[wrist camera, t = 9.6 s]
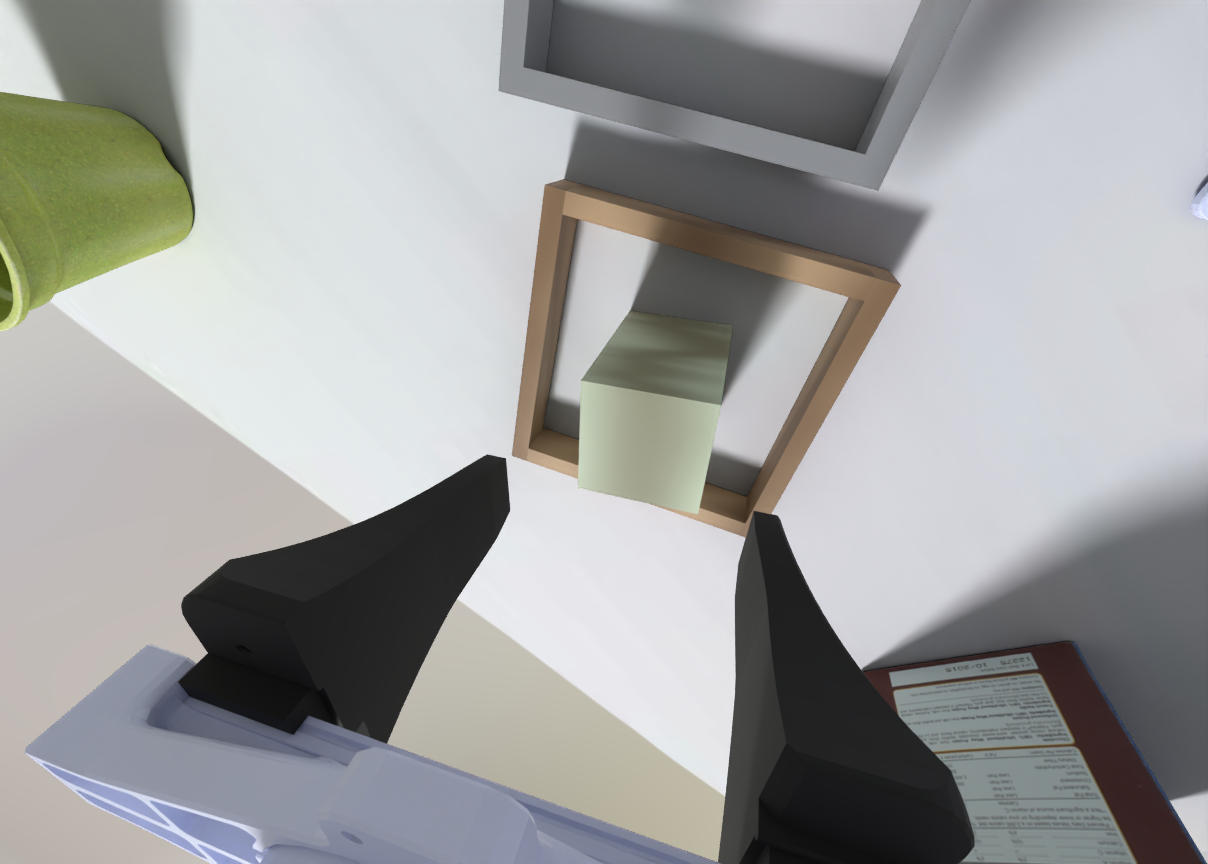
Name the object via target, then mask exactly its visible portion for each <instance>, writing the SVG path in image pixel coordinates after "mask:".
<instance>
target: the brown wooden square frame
mask: <svg viewBox="0 0 1208 864" xmlns="http://www.w3.org/2000/svg"><path fill="white" fill-rule="evenodd" d="M577 219H580V220H584V221H587V222H590V223H594V224H597V225H601V226H604V227H608V228H611V229H615V230H618V231H622V232H625V233H629V234H632V235H636V236H639V237H643V238H646V239H649V240H653V241H656V242H660V243H663V244H667V245H670V246H674V247H677V248H681V249H684V250H688V251H691V252H695V253H698V254H702V255H705V256H708V257H712V258H715V259H719V260H722V261H726V262H729V263H733V264H736V265H740V266H743V267H747V268H750V269H754V270H757V271H761V272H764V273H768V274H771V275H774V276H778V277H781V278H785V279H788V280H792V281H795V282H799V283H802V284H806V285H809V286H813V287H816V288H820V289H823V290H827V291H830V292H833V293H837V294H840V295H844V296H847V297H849V299H848V301H847V303H846V305H845V307H844V309H843V311H842V313H841V315H840V317H839V318H838V320H837V322H836V324H835V326H834V328H833V330H832V332H831V334H830V336H829V338H828V340H827V342H826V344H825V346H824V348H823V350H822V352H821V354H820V355H819V357H818V359H817V361H816V363H815V365H814V367H813V369H812V371H811V373H810V375H809V377H808V379H807V381H806V383H805V385H804V387H803V389H802V391H801V392H800V394H799V396H798V398H797V400H796V402H795V404H794V406H793V408H792V410H791V412H790V414H789V416H788V418H787V420H786V422H785V424H784V426H783V428H782V429H781V431H780V433H779V435H778V437H777V439H776V441H775V443H774V445H773V447H772V449H771V451H770V453H769V455H768V457H767V459H766V461H765V463H764V464H763V466H762V468H761V470H760V472H759V474H758V476H757V478H756V480H755V482H754V484H753V486H752V488H751V490H750V492H749V494H748V496H747V497H745V496H743V495H740V494H737V493H734V492H731V491H728V490H725V489H722V488H719V487H716V486H713V485H710V484H707V483H705V484H704V488H703V493H702V498H701V502H700V507H699V512H698V514H694V513H689V512H685V511H680V510H676V509H671V508H667V507H662V506H658V505H655V506H657V507H660V508H663V509H666V510H669V511H672V512H675V513H677V514H680V515H683V516H686V517H689V518H692V519H695V520H697V521H700V522H703V523H706V524H709V525H712V526H715V527H717V528H720V529H723V530H726V531H729V532H732V533H735V534H737V535H740V536H743V537H746V536H747V532H748V529H749V525H750V522H751V518H752V514H753V511H758V512H762V513H767V514H771V513H772V511H773V510H774V508H775V506H776V504H777V503H778V501H779V499H780V497H781V496H782V494H783V492H784V490H785V488H786V487H787V485H788V483H789V481H790V480H791V478H792V476H793V474H794V473H795V471H796V469H797V467H798V466H799V464H800V462H801V460H802V459H803V457H804V455H805V453H806V452H807V450H808V448H809V446H810V445H811V443H812V441H813V439H814V438H815V436H816V434H817V432H818V430H819V429H820V427H821V425H822V423H823V422H824V420H825V418H826V416H827V415H828V413H829V411H830V409H831V408H832V406H833V404H834V402H835V401H836V399H837V397H838V395H839V394H840V392H841V390H842V388H843V387H844V385H845V383H846V381H847V380H848V378H849V376H850V374H851V372H852V371H853V369H854V367H855V365H856V364H857V362H858V360H859V358H860V357H861V355H862V353H863V351H864V350H865V348H866V346H867V344H868V343H869V341H870V339H871V337H872V336H873V334H874V332H875V330H876V329H877V327H878V325H879V323H880V322H881V320H882V318H883V316H884V314H885V313H886V311H887V309H888V307H889V306H890V304H891V302H892V300H893V299H894V297H895V295H896V293H897V292H898V290H899V288H900V286H901V285H900V283H899V282H898V281H897V280H896V279H895V277H894V276H893V275H892V274H891V273H890V271H889V270H886V269H883V268H879V267H875V266H872V265H868V264H865V263H861V262H858V261H854V260H850V259H847V258H843V257H840V256H836V255H833V254H829V253H825V252H822V251H818V250H815V249H811V248H807V247H804V246H800V245H797V244H793V243H790V242H786V241H782V240H779V239H775V238H772V237H768V236H765V235H761V234H757V233H754V232H750V231H747V230H743V229H740V228H736V227H732V226H729V225H725V224H722V223H718V222H715V221H711V220H707V219H704V218H700V217H697V216H693V215H689V214H686V213H682V212H679V211H675V210H672V209H668V208H664V207H661V206H657V205H654V204H650V203H647V202H643V201H639V200H636V199H632V198H629V197H625V196H622V195H618V194H614V193H611V192H607V191H604V190H600V189H597V188H593V187H589V186H586V185H582V184H579V183H575V182H571V181H568V180H564V179H563V180H560V181H556V182H553V183H549V184H546V185H545V188H544V196H543V205H542V213H541V221H540V229H539V237H538V246H537V254H536V262H535V270H534V279H533V287H532V295H531V303H530V311H529V320H528V328H527V336H526V344H525V353H524V361H523V369H522V377H521V385H520V394H519V402H518V410H517V418H516V426H515V435H514V443H513V451H512V456H514V457H517V458H520V459H523V460H526V461H529V462H532V463H534V464H537V465H540V466H543V467H546V468H549V469H552V470H554V471H557V472H560V473H563V474H566V475H569V476H572V477H574V478H577V479H578V465H579V440H578V439H575V438H572V437H569V436H566V435H563V434H560V433H557V432H554V431H552V430H549V429H546V428H543V427H544V421H545V415H546V408H547V402H548V396H549V390H550V384H551V378H552V372H553V365H554V359H555V353H556V347H557V341H558V335H559V329H560V322H561V316H562V310H563V304H564V298H565V292H566V286H567V279H568V273H569V267H570V261H571V255H572V249H573V243H574V236H575V230H576V224H577ZM652 505H653V504H652Z"/></svg>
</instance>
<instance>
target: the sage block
mask: <svg viewBox="0 0 1208 864" xmlns="http://www.w3.org/2000/svg"><path fill="white" fill-rule="evenodd" d="M732 331H733V326H732V325H725V324H719V323H712V322H705V321H698V320H691V319H684V318H677V317H670V316H663V315H656V314H649V313H642V312H636V311H630V312H629V313H628V315H627V316H626V317H625V319H624V320H623V322H622V323H621V324H620V326H619V327H618V329H617V330H616V332H615V333H614V334H613V336H612V337H611V339H610V340H609V342H608V343H607V344H606V346H605V347H604V349H603V350H602V351H601V353H600V354H599V356H598V357H597V359H596V360H595V361H594V363H593V364H592V366H591V367H590V368H589V370H588V371H587V373H586V374H585V376H584V377H583V378H582V380H581V397H580V431H579V465H578V488H581V489H586V490H590V491H595V492H599V493H604V494H608V495H613V496H617V497H622V498H626V499H631V500H635V501H640V502H644V503H649V504H653V505H658V506H662V507H667V508H671V509H676V510H680V511H685V512H689V513H694V514H698V512H699V507H700V502H701V498H702V493H703V488H704V484H705V479H706V474H707V470H708V465H709V460H710V455H711V451H712V446H713V441H714V437H715V432H716V427H717V423H718V418H719V413H720V408H721V403H722V396H723V390H724V383H725V377H726V370H727V364H728V357H729V350H730V344H731V337H732Z"/></svg>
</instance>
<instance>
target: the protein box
mask: <svg viewBox="0 0 1208 864" xmlns="http://www.w3.org/2000/svg"><path fill="white" fill-rule="evenodd" d="M863 673H864V674H865V676H866V677H867V678H868V679H869V681H870V682H871V683H872V684H873V686H874V687H875V688H876V689H877V691H878V692H879V693H880V695H881V696H882V697H883V698H884V700H885V701H886V702H887V703H888V704H889V705H890V707H891V708H892V709H893V710H894V711H895V712H896V713H897V714H898V716H899V717H900V718H901V719H902V720H903V721H904V722H905V724H906V725H907V726H908V727H909V728H910V729H911V730H912V731H913V732H914V733H915V734H916V735H917V736H918V737H919V738H920V739H921V740H922V741H923V742H924V743H925V744H926V745H927V746H928V747H929V748H930V749H931V750H932V752H933V753H934V754H935V755H936V756H937V757H938V758H939V759H940V760H941V761H942V762H943V763H944V764H945V765H946V766H947V767H948V768H949V769H950V770H951V771H952V774H953V777H954V779H955V781H956V784H957V786H958V789H959V791H960V794H961V796H962V799H963V801H964V804H965V807H966V809H967V812H968V816H969V819H970V822H971V826H972V829H973V833H974V837H975V847H974V848H973V849H972V851H971V852H970V853H969V855H968V856H967V857H966V858H965V859H964V860H962V861H961V862H960V863H959V864H1207V863H1206V861H1205V860H1204V858H1203V856H1202V854H1201V853H1200V851H1199V849H1198V848H1197V846H1196V844H1195V843H1194V841H1193V839H1192V838H1191V836H1190V834H1189V833H1188V831H1187V829H1186V828H1185V826H1184V824H1183V823H1182V821H1181V819H1180V818H1179V816H1178V814H1177V813H1176V811H1175V809H1174V808H1173V806H1172V804H1171V803H1170V801H1169V799H1168V798H1167V796H1166V794H1165V793H1164V791H1163V789H1162V788H1161V786H1160V784H1159V783H1158V781H1157V779H1156V778H1155V776H1154V774H1153V773H1152V771H1151V769H1150V768H1149V766H1148V764H1147V763H1146V761H1145V759H1144V758H1143V756H1142V754H1141V753H1140V751H1139V749H1138V748H1137V746H1136V744H1135V743H1134V741H1133V739H1132V738H1131V736H1130V734H1129V733H1128V731H1127V729H1126V728H1125V726H1124V724H1123V723H1122V721H1121V719H1120V718H1119V716H1118V714H1117V713H1116V711H1115V709H1114V708H1113V706H1112V705H1111V703H1110V701H1109V700H1108V698H1107V696H1106V695H1105V693H1104V692H1103V690H1102V688H1101V687H1100V685H1099V683H1098V682H1097V680H1096V678H1095V677H1094V675H1093V673H1092V672H1091V670H1090V668H1089V666H1088V665H1087V663H1086V661H1085V659H1084V657H1083V656H1082V654H1081V652H1080V650H1079V648H1078V646H1077V645H1076V644H1075V643H1074V642H1059V643H1053V644H1047V645H1038V646H1033V647H1026V648H1020V649H1013V650H1005V651H999V652H993V653H987V654H980V655H973V656H967V657H960V658H953V659H946V660H940V661H933V662H926V663H919V664H913V665H905V666H899V667H893V668H885V669H880V670H873V671H865V672H863Z"/></svg>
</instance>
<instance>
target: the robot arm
mask: <svg viewBox="0 0 1208 864" xmlns="http://www.w3.org/2000/svg"><path fill="white" fill-rule="evenodd" d="M1191 211H1192V213H1193V215H1194V216H1196V217H1198V218H1201V219H1205V220H1208V182H1207V183H1206V185H1205V186H1204V187H1203V188H1202V189H1201V191H1200V192H1199V193H1198V194H1197V195H1196V197H1195V199H1194V200H1193V202H1192V206H1191ZM509 512H510V502H509V490H508V478H507V466H506V458H501V457H496V456H492V455H486V456H484V457H482V458H480V459H478V460H477V461H475V462H473V463H472V464H470V465H468V466H467V467H465V468H463V469H462V470H460V471H458V472H457V473H455V474H454V475H452V476H450V477H448V478H447V479H445V480H443V481H442V482H440V483H438V484H437V485H435V486H433V487H431V488H430V489H428V490H426V491H424V492H422V493H420V494H419V495H417V496H415V497H413V498H411V499H409V500H407V501H405V502H404V503H402V504H400V505H398V506H396V507H394V508H392V509H390V510H387V511H385V512H383V513H381V514H379V515H376V516H374V517H372V518H369V519H367V520H365V521H362V522H360V523H357V524H355V525H352V526H350V527H347V528H344V529H341V530H338V531H336V532H333V533H330V534H328V535H325V536H321V537H318V538H315V539H312V540H309V541H305V542H302V543H298V544H295V545H291V546H288V547H284V548H280V549H276V550H272V551H268V552H263V553H259V554H254V555H250V556H245V557H241V558H236V559H231V560H229V561H228V562H226V563H225V564H224V565H223V566H221V567H220V568H219V569H218V570H217V571H215V572H214V573H213V574H212V575H211V576H209V577H208V578H207V579H206V580H205V581H203V582H202V583H201V584H200V585H199V586H197V587H196V588H195V589H194V590H192V591H191V592H190V593H189V594H187V595H186V596H185V597H184V598H183V601H182V606H181V607H182V613H183V616H184V617H185V619H186V621H187V623H188V624H189V626H190V627H191V628H192V630H193V632H194V633H195V635H196V636H197V637H198V639H199V640H200V642H201V643H202V645H203V646H204V648H205V649H206V651H207V652H208V654H207V655H206V656H205V657H204V658H203V659H201V660H200V661H199V662H198V663H197V664H196V663H195V662H194V661H192V660H191V659H189V658H187V657H185V656H183V655H181V654H178V653H175V652H172V651H169V650H167V649H164V648H161V647H158V646H155V645H152V644H151V645H146V646H145V647H144V648H143V649H142V650H140V651H139V652H138V653H137V654H136V655H135V656H133V657H132V658H131V659H130V660H129V661H128V662H126V663H125V664H124V665H123V666H122V667H120V668H119V669H118V670H117V671H116V672H114V674H112V675H111V676H110V677H109V678H107V679H106V680H105V681H104V682H103V683H102V684H101V685H99V686H98V687H97V688H96V689H94V690H93V691H92V692H91V693H90V694H89V695H87V696H86V697H85V698H84V699H83V700H81V701H80V702H79V703H78V704H77V705H76V706H74V707H73V708H72V709H71V710H70V711H69V712H67V713H66V714H65V715H64V716H63V717H62V718H60V719H59V720H58V721H57V722H56V723H54V724H53V725H52V726H51V727H50V728H48V729H47V730H46V731H45V732H44V733H43V734H41V735H40V736H39V737H38V738H37V739H36V740H34V741H33V742H32V743H31V744H30V745H28V746H27V747H26V750H25V754H27V755H28V756H29V757H31V758H32V759H33V760H34V761H36V762H37V763H38V764H39V765H41V766H42V767H43V768H45V769H46V770H47V771H49V772H50V773H51V774H52V775H54V776H55V777H56V778H57V779H59V780H60V781H61V782H62V783H64V784H65V785H66V786H68V787H69V788H70V789H72V790H73V791H74V792H75V793H77V794H78V795H79V796H80V797H82V798H83V799H84V800H85V801H87V802H88V803H90V804H91V805H93V806H96V807H98V808H100V809H102V810H105V811H106V812H109V813H111V814H113V815H115V816H117V817H120V818H122V819H124V820H126V821H128V822H130V823H132V824H134V825H136V826H138V827H140V828H142V829H144V830H146V831H148V832H150V833H152V834H154V835H156V836H158V837H161V838H162V839H164V840H166V841H168V842H170V843H172V844H174V845H176V846H178V847H180V848H182V849H184V850H186V851H188V852H190V853H192V854H194V855H195V856H198V857H199V858H201V859H203V860H205V861H207V862H209V863H211V864H959V863H960V862H961V861H962V860H964V859H965V858H966V857H967V856H968V855H969V853H970V852H971V851H972V849H973V848H974V847H975V837H974V833H973V829H972V826H971V822H970V819H969V816H968V812H967V809H966V807H965V804H964V801H963V799H962V796H961V794H960V791H959V789H958V786H957V784H956V781H955V779H954V777H953V774H952V771H951V770H950V769H949V768H948V767H947V766H946V765H945V764H944V763H943V762H942V761H941V760H940V759H939V758H938V757H937V756H936V755H935V754H934V753H933V752H932V750H931V749H930V748H929V747H928V746H927V745H926V744H925V743H924V742H923V741H922V740H921V739H920V738H919V737H918V736H917V735H916V734H915V733H914V732H913V731H912V730H911V729H910V728H909V727H908V726H907V725H906V724H905V722H904V721H903V720H902V719H901V718H900V717H899V716H898V714H897V713H896V712H895V711H894V710H893V709H892V708H891V707H890V705H889V704H888V703H887V702H886V701H885V700H884V698H883V697H882V696H881V695H880V693H879V692H878V691H877V689H876V688H875V687H874V686H873V684H872V683H871V682H870V681H869V679H868V678H867V677H866V676H865V674H864V673H863V672H862V671H861V669H860V668H859V667H858V665H857V664H856V663H855V661H854V660H853V658H852V657H851V655H850V654H849V653H848V651H847V650H846V648H845V647H844V646H843V644H842V643H841V641H840V640H839V638H838V636H837V635H836V633H835V632H834V630H833V629H832V627H831V626H830V624H829V622H828V621H827V619H826V617H825V616H824V614H823V612H822V611H821V609H820V607H819V605H818V603H817V602H816V600H815V598H814V596H813V594H812V592H811V590H810V589H809V587H808V585H807V583H806V581H805V579H804V576H803V574H802V572H801V570H800V568H799V566H798V564H797V562H796V560H795V557H794V555H793V553H792V550H791V548H790V545H789V543H788V540H787V538H786V535H785V532H784V530H783V527H782V524H781V520H780V519H779V517H778V516H777V515H772V514H767V513H762V512H758V511H753V514H752V518H751V522H750V525H749V529H748V532H747V536H746V539H745V543H744V546H743V550H742V553H741V557H740V560H739V565H738V574H737V583H736V593H735V656H736V683H735V701H734V713H733V724H732V736H731V746H730V757H729V767H728V777H727V786H726V796H725V806H724V815H723V824H722V832H721V842H720V850H719V859H718V862H715V861H713V860H710V859H707V858H704V857H702V856H699V855H696V854H693V853H690V852H688V851H685V850H682V849H679V848H676V847H674V846H671V845H668V844H665V843H662V842H659V841H657V840H654V839H651V838H648V837H645V836H643V835H640V834H637V833H635V832H632V831H629V830H626V829H623V828H621V827H617V826H615V825H612V824H609V823H607V822H604V821H601V820H598V819H595V818H593V817H590V816H587V815H584V814H581V813H579V812H576V811H573V810H570V809H568V808H565V807H562V806H559V805H556V804H553V803H551V802H548V801H545V800H542V799H540V798H537V797H534V796H531V795H528V794H526V793H523V792H520V791H517V790H514V789H511V788H509V787H506V786H503V785H501V784H498V783H495V782H492V781H489V780H487V779H484V778H481V777H478V776H475V775H473V774H469V773H467V772H464V771H461V770H458V769H456V768H453V767H450V766H447V765H445V764H442V763H439V762H436V761H433V760H431V759H428V758H425V757H422V756H419V755H417V754H414V753H411V752H408V751H406V750H403V749H400V748H397V747H394V746H391V745H389V744H387V742H388V740H389V737H390V735H391V732H392V730H393V728H394V725H395V723H396V721H397V718H398V716H399V713H400V711H401V709H402V707H403V705H404V702H405V700H406V698H407V696H408V694H409V691H410V689H411V687H412V685H413V683H414V680H415V678H416V676H417V674H418V672H419V670H420V668H421V665H422V664H423V662H424V660H425V658H426V655H427V654H428V651H429V649H430V648H431V645H432V643H433V641H434V639H435V638H436V636H437V634H438V631H439V630H440V628H441V626H442V624H443V622H444V620H445V618H446V617H447V615H448V613H449V611H450V609H451V608H452V606H453V604H454V603H455V601H456V599H457V598H458V596H459V595H460V593H461V592H462V590H463V589H464V587H465V586H466V584H467V583H468V581H469V580H470V578H471V577H472V575H473V574H474V572H475V571H476V569H477V568H478V566H479V565H480V563H481V562H482V560H483V559H484V557H485V556H486V554H487V553H488V551H489V550H490V548H491V546H492V545H493V543H494V542H495V540H496V539H497V537H498V535H499V533H500V531H501V529H502V527H503V525H504V522H505V520H506V518H507V516H508V514H509Z"/></svg>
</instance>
